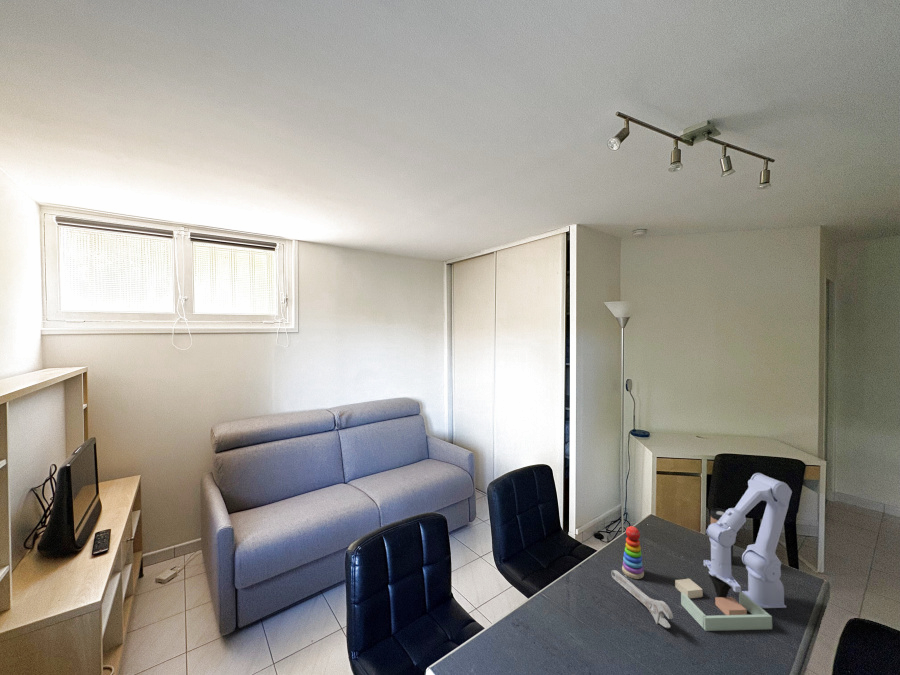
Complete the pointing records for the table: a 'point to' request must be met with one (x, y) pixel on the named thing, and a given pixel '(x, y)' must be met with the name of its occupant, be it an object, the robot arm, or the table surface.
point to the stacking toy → (633, 554)
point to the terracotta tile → (730, 606)
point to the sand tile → (689, 588)
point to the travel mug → (715, 516)
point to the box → (731, 616)
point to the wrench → (646, 600)
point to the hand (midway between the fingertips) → (721, 598)
